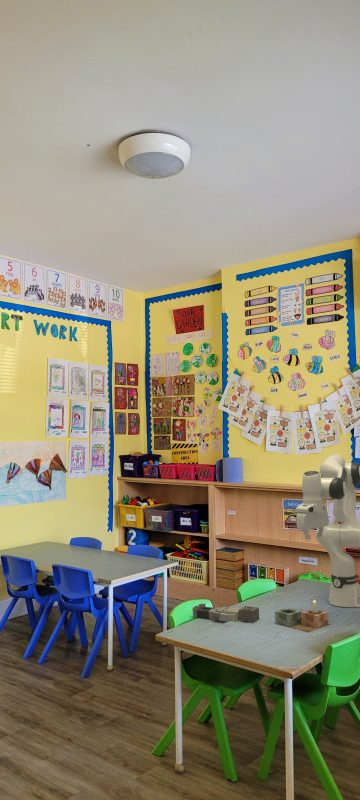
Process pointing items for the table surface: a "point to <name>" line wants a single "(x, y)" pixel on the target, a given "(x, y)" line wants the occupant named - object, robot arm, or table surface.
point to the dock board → (301, 619)
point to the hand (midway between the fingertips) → (313, 538)
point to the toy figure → (227, 613)
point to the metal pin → (314, 607)
